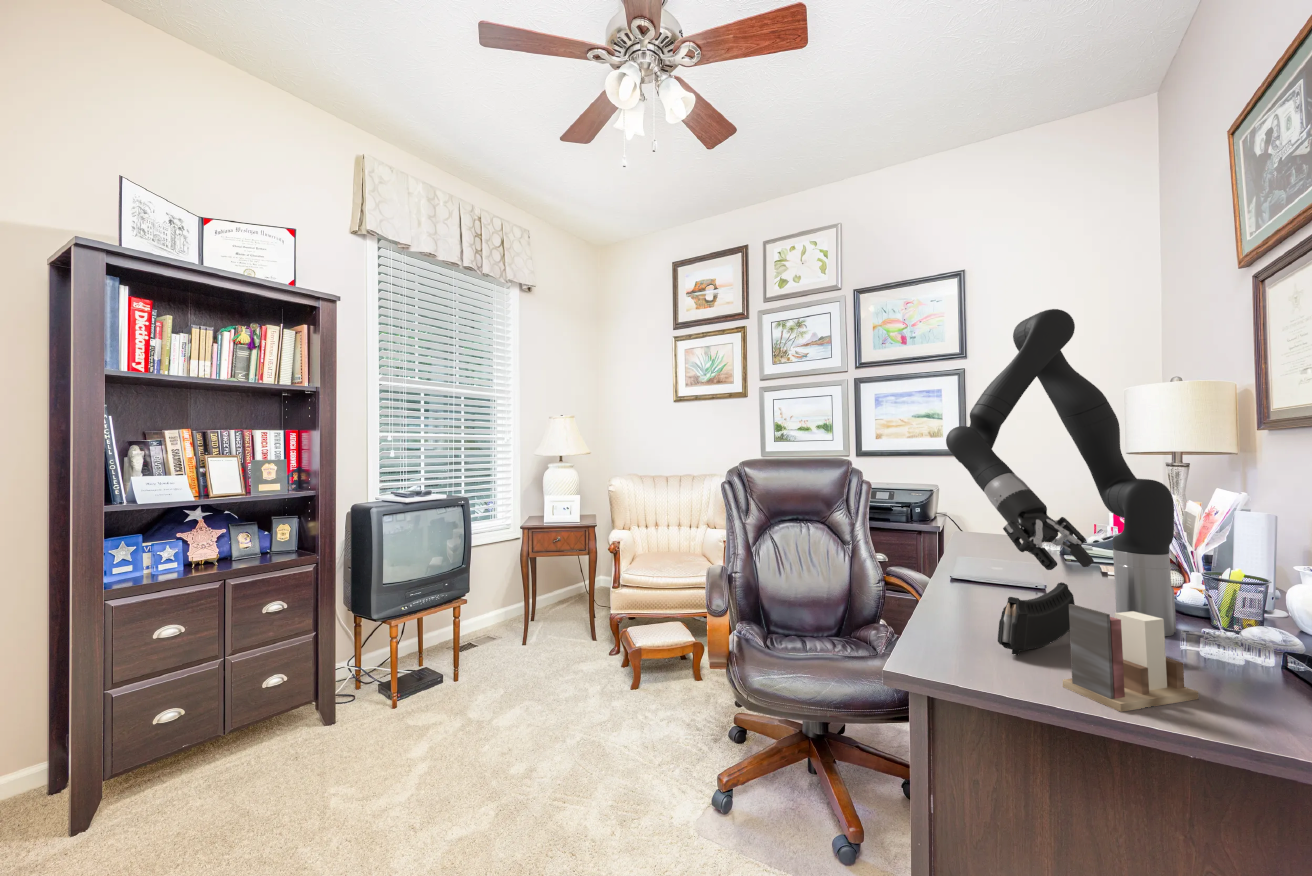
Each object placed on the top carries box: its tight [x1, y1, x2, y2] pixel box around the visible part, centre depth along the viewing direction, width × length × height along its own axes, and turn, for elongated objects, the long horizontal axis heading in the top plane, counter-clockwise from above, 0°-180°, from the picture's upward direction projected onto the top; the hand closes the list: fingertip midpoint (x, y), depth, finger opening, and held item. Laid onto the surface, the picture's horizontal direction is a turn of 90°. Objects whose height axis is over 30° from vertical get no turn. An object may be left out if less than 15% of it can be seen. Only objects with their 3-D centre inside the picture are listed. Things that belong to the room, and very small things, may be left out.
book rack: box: [1062, 604, 1199, 713], centre depth 86 cm, size 16×9×14 cm, turn 103°
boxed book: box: [1114, 611, 1167, 690], centre depth 87 cm, size 4×4×11 cm
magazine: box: [997, 582, 1076, 656], centre depth 110 cm, size 17×3×30 cm
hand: (1071, 566), depth 98 cm, fingers open, 8 cm apart
